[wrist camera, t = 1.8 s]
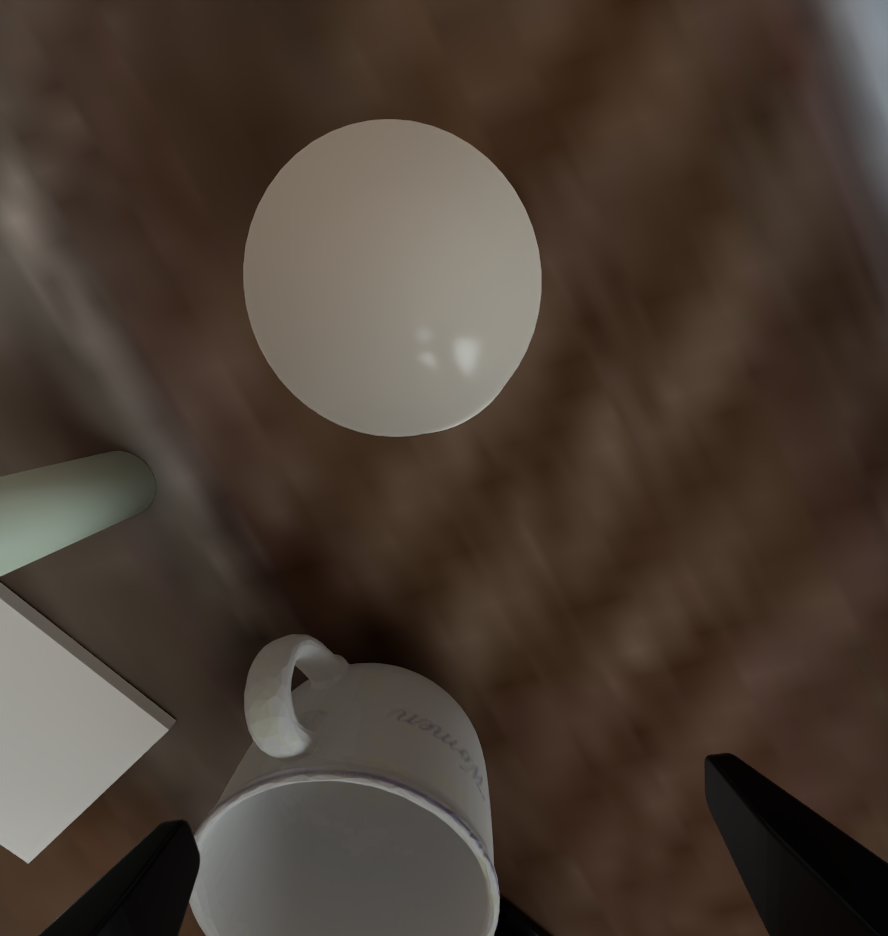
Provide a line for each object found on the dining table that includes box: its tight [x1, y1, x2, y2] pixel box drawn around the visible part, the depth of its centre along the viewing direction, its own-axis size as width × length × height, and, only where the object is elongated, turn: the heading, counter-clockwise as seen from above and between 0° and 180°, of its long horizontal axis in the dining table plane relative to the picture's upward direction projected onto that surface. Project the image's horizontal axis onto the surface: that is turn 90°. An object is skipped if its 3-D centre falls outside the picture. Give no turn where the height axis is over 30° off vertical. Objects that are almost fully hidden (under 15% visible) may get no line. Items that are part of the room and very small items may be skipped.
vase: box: [243, 119, 541, 437], centre depth 12 cm, size 5×5×14 cm
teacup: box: [189, 634, 500, 936], centre depth 18 cm, size 14×11×8 cm
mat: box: [0, 582, 176, 864], centre depth 22 cm, size 12×12×1 cm
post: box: [0, 451, 156, 576], centre depth 16 cm, size 3×3×8 cm
